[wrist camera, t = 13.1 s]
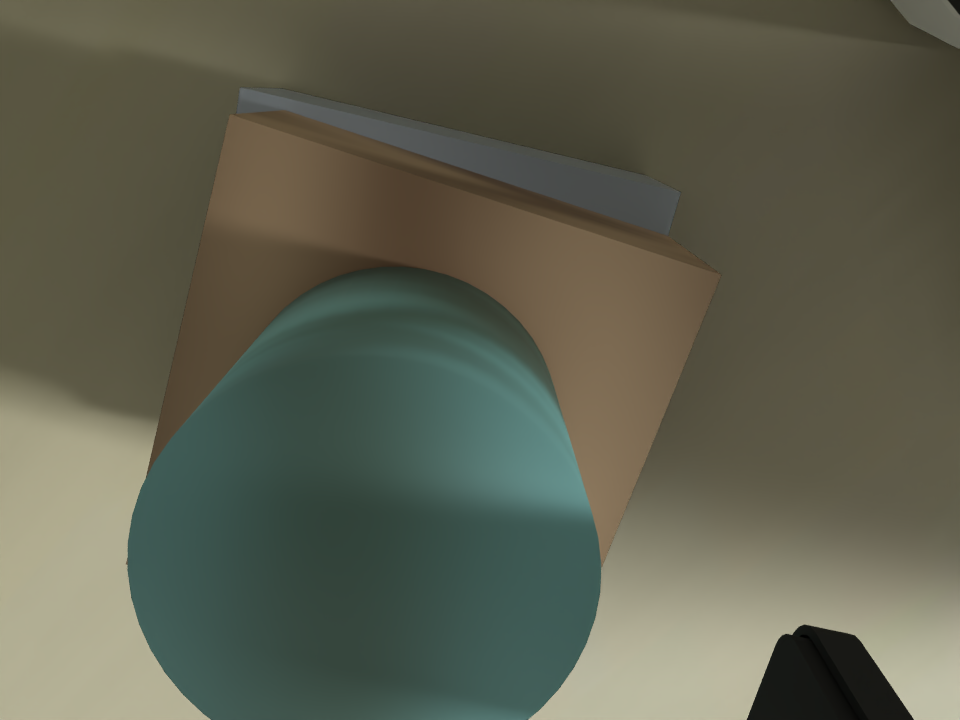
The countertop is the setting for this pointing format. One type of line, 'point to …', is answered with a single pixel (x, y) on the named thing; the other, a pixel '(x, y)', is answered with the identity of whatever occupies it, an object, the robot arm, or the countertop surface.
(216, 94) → the countertop surface
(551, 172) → the slate base block
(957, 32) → the supplement can
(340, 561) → the teal cylinder
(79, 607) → the countertop surface
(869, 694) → the robot arm
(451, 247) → the walnut block
